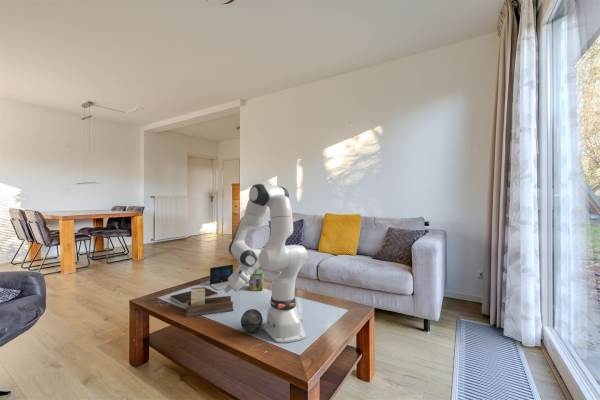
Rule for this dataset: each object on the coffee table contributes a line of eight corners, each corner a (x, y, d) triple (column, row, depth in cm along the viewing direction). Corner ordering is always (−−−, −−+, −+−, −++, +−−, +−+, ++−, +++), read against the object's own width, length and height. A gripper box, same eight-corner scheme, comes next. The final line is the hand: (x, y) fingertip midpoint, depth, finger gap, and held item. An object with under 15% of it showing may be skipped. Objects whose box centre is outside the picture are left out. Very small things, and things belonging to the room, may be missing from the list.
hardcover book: (217, 296, 172) (218, 292, 172) (182, 306, 155) (182, 302, 155) (205, 290, 183) (205, 287, 183) (170, 299, 165) (170, 295, 165)
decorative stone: (238, 328, 128) (239, 307, 128) (259, 324, 132) (259, 304, 132) (243, 338, 119) (243, 315, 119) (265, 334, 123) (265, 312, 123)
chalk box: (262, 291, 182) (262, 269, 182) (248, 290, 182) (248, 268, 182) (264, 286, 191) (264, 265, 192) (251, 286, 192) (251, 265, 192)
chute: (233, 311, 148) (233, 303, 148) (185, 317, 139) (185, 309, 139) (229, 300, 163) (230, 294, 163) (186, 305, 154) (186, 298, 154)
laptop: (217, 290, 182) (217, 271, 182) (209, 286, 191) (209, 267, 191) (241, 285, 194) (241, 267, 194) (232, 281, 203) (233, 264, 203)
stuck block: (204, 309, 147) (205, 290, 147) (190, 310, 144) (191, 291, 144) (204, 304, 153) (204, 286, 154) (191, 305, 151) (191, 287, 151)
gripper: (236, 265, 166) (219, 282, 163) (242, 273, 147) (223, 293, 144) (243, 272, 168) (227, 289, 164) (250, 281, 149) (231, 301, 145)
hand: (225, 291), depth 154 cm, fingers closed
